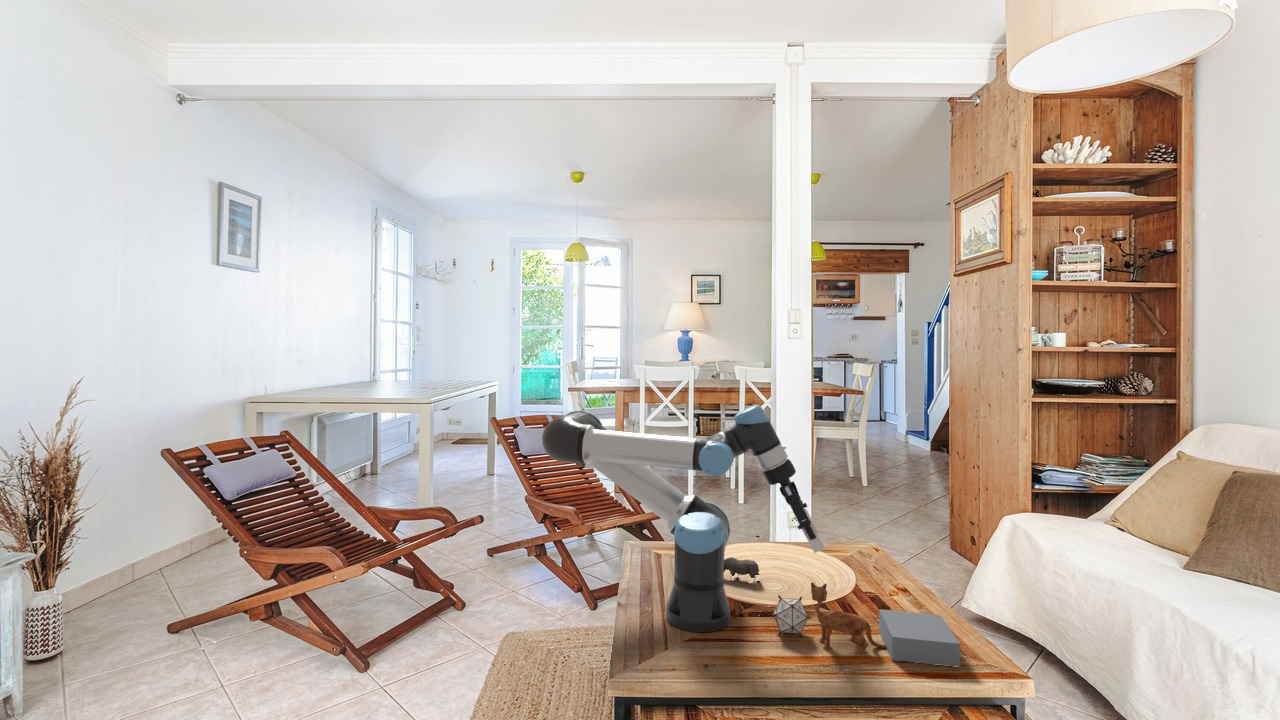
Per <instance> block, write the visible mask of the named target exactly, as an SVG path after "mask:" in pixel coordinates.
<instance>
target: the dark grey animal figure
mask: <svg viewBox="0 0 1280 720" xmlns="http://www.w3.org/2000/svg"><path fill="white" fill-rule="evenodd" d="M726 571H729V573H730V575H732V576H734V575H735V573H737V574H738V575H739V576H745V575H746V576H747V575H749V577H751V578H754V577H755V578H756V576H755V575H760V574H759V572H760V568H759V565H758V563H757V561H755V560H752V559H741V560H740V559H737V558H736V557H733V556H731V557H727V558H724V573H725V572H726ZM732 576H731V577H732Z"/></svg>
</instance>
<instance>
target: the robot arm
mask: <svg viewBox="0 0 1280 720" xmlns="http://www.w3.org/2000/svg"><path fill="white" fill-rule="evenodd" d="M733 420H734V422H735V423H734V424H733V425H731V426H729V427H727V428H725V429H722V430H720V431H718V432H716V433H714V434H713V435H710V436H706V437H705V438H695V437H686V436H683V437H682V436H676V435H674V436H671V435H662V434H653V433H651V434H650V433H640V432H628V431H616V430H607V428H605V427H604V425H603V424H602V422H601V420H600V419H599V418H598V417H597V416H596V415H595V414H593V413H592V412H589V411H587V410H585V411H584V410H574V411H570V412H568V413H567V414H565V415H560V416H558V417H555V418H553V419H552V420H551V421H549V422H548V423H547V424H546V426H545V428H544V429H543V433H542V438H541V441H542V446H543V450H544V451H545V453H546V454H547V455H548V456H549V457H550V458H551V459H553V460H554V461H557V462H559V463H570V464H579V465H581V466H582V467H583V468H585V469H592V468H593V469H595V470H596V471H598V472H599V473H600V474H602V476H603V475H604V477H606V478H607V479H608V480H610V481H611V482H612V483H614V484H615V485H616V486H618V487H619V488H620V489H621V490H623V491H625V492H626V493H627V494H628V495H630V496H631V497H632V498H634V500H636V501H638V502H639V503H640V504H642V506H644V507H646V508H648V510H650V511H651V512H652V513H653V514H655V515H656V516H657V517H659V518H660V519H661V520H663V521H664V522H666V524H667V528H668V532H669V534H671V535H673V537H674V560H673V561H674V563H673V564H674V566H673V567H674V570H673V573H674V574H673V585H672V588H671V591H670V594H669V596H668V600H667V603H666V605H665V606H666V607H665V618H666V620H667V621H668V622H669V623H670V624H671V625H672V626H675V628H678V629H681V630H684V631H689V632H696V633H711V632H716V631H719V630H722V629H724V628H726V627H727V626H728V625H729V624H730V622H731V608H730V605H729V601H728V597H727V594H726V591H725V588H724V586H725V585H724V578H725V577H724V576H725V575H724V573H725V572H724V560H725V551H726V547H727V543H728V540H729V537H730V534H731V528H730V527H731V525H730V520H729V517H728V516H727V513H726V512H725V511H724V510H723V509H722V508H721V507H720V506H719V505H717V504H716V503H712V502H708V501H707V502H706V501H704V500H703V499H701V497H699V496H698V495H696V494H685V493H683V492H682V491H681V490H679V489H678V488H677V487H676V486H675V485H673V484H672V483H670V482H668V481H667V480H666V479H664V478H663V477H662V476H660V475H659V474H658V473H657V472H655V471H654V470H652V469H651V468H650V467H658V468H667V469H669V468H670V469H677V470H687V471H688V470H689V471H697V472H704V473H705V474H707V475H708V476H711V477H719V476H722V475H724V474H726V473H727V472H728V471H729V470H731V467H732V466H733V463H734V460H735V458H738V457H740V456H742V455H743V454H745V453H747V452H749V451H751V453H752V455H753V458H754V459H755V462H756V463H757V465H758V466H759V468H760V470H762V471H763V472H762V475H763V476H764V477H765V480H766V481H767V483H768V485H770V486H775V485H777V484H780V487H779V492H780V494H781V495H782V497H784V500H785V501H786V503H787V505H789V506H790V508H791V510H792V512H793V514H794V516H795V519H796V520H797V522H798V524H799V525H798V526H797V529H798V531H799V530H802V532H803V534H804V536H805V538H806V540H807V541H808V543H809V545H810V547H811V549H812V550H813V553H814V554H816V553H818V552H820V551H823V550H825V549H826V547H825V545H824V543H823V542H822V540H821V538H820V536H819V534H818V532H819V531H818V530H819V529H818V528H817V526H816V525H815V522H814V521H813V519H812V517H811V515H810V514H809V512H808V510H807V507H808V504H807V503H806V502H804V501H803V500H802V499H801V496H800V494H799V491H798V488H797V485H796V483H795V481H794V480H793V481H792V480H791V479H790V478H792V477H793V476H794V475H795V474H796V473H797V471H796V468H795V467H794V464H793V463H792V461H791V459H789V458H788V454H787V452H786V449H787V446H786V445H783V444H782V443H781V440H780V438H779V436H778V435H777V433H776V431H775V429H774V426H773V425H772V423H771V421H770V419H769V417H768V416H767V414H766V412H765V411H764V409H763V407H761V406H760V405H759V404H756V405H752V406H749V407H748V408H745V409H743V410H742V411H740V412H738V413H736V415H734V419H733ZM803 502H804V503H803Z"/></svg>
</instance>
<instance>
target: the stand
mask: <svg viewBox="0 0 1280 720" xmlns="http://www.w3.org/2000/svg"><path fill="white" fill-rule="evenodd" d="M878 612H879V613H878V633H879V635H880V637H881V639H882V641H883V645H886V647H887V648H886V651H887V653H888V655H890V656H889V658H890V660H891V661H893V662H899V661H908V662H918V663H925V664H924V665H927V664H939V665H940V664H941V665H950V666H959V667H961V642H960V641H959V639H958V637H956V636H955V634H954V632H953V630H952V629H951V628H950V626H949V625H948V624H947V622H946V621H945V619H944V618H943V617H942V615H941V614H933V613H921V612H913V611H900V610H889V609H881V608H880V609H879V611H878ZM894 660H895V661H894ZM908 662H907V663H908ZM918 663H917V664H918Z"/></svg>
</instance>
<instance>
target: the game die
mask: <svg viewBox="0 0 1280 720" xmlns="http://www.w3.org/2000/svg"><path fill="white" fill-rule="evenodd" d="M777 597H778V599H779V600H778V602H777V603H776V604H777V605H776V606H775V609H774V612H770V613H769V615H771V616H772V617H774V619H775V622H776V625H777V627H778V630H779V632H778V636H781V635H782V633H785V634H799V635H800V637H801V638H804V635H803V633H802V632H803V631H804V628H805V625H806V623H807V621H808V620H811V619H812V617H811V616H809V615H808V614H807V612H806V610H805V608H804V605H803V603H802V601H801V600H803V596H800V597H799V598H798V599H796V598H783V597H781V595H780V594H777Z"/></svg>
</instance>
